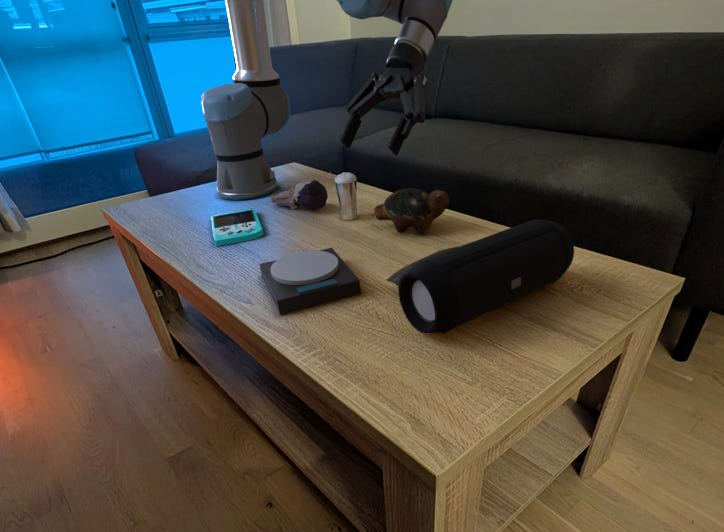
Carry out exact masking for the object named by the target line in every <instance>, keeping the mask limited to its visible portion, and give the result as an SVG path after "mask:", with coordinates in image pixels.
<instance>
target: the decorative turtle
mask: <svg viewBox="0 0 724 532" xmlns="http://www.w3.org/2000/svg"><path fill="white" fill-rule="evenodd" d="M449 203H450V198H449V195H448V194H447V193H446V192H445V191H443V190H440V189H436V190H432V191H431V192H430V193H428V192H427V191H426V190H424V189H420V188H411V187H410V188H402V189H398V190H396V191H394V192H393V193H391V194H390V195H389V196H388V197H387V198H386V199H385V200H384V202H383V203H382V204H378V205H376V206H375V207H374V209H373V212H374V216H375V218H376V220H378V221H391V222H392V223H393V225H394V228H395V230H396V232H397V233H399V234H403V233H405V232H407V230H409V229H410V228H412V229H413V230H414V231H415V232H416V234H418V235H419V236H424V235H425V234H426V233H427V232H428V229H429V227H430V225H432V223H433V221H435V220H436V219H438V218H439V217H441V215H443V214H444V212H445V211H446V209H447V207H448V206H449V205H450V204H449Z"/></svg>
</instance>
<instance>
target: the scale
mask: <svg viewBox="0 0 724 532" xmlns="http://www.w3.org/2000/svg"><path fill="white" fill-rule="evenodd" d="M258 266H259V270H260V274H261V278H262V279H263V283H264V284H265V286H266V288H267V290H268V292H269V294H270V297H271V298H272V300H273V303H274V305H275V307H276V309H277V311H278V313H279V316H282V315H287V314H290V313H294V312H297V311H302V310H306V309H309V308H314V307H317V306H321V305H324V304H329V303H332V302H337V301H341V300H343V299H348V298H351V297H355V296H358V295H362V289H361V280H360V278H359V277H358V276H357V274H356V273H355V272H354V271H353V270H352V269H351V268H350V267H349V266H348V265H347V263H346V262H345V261H344V260H343V259H342V257H340V255H339V254H338V252H337V251H336V250H335V249H334V248H333V247H328V248H323V249H320V250H317V249H315V250H313V249H312V250H301V251H296V252H292V253H289V254H286V255H283V256H282V257H280V258H278V259H275V260H269V261H266V262H262V263H259V264H258Z"/></svg>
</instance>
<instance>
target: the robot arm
mask: <svg viewBox="0 0 724 532" xmlns="http://www.w3.org/2000/svg"><path fill="white" fill-rule="evenodd" d="M224 1H225V8H226V13H227V19H228V25H229V31H230V36H231V42H232V47H233V48H232V49H233V52H234V54H233V55H234V60H235V65H236V70H235V72H234V74H233V75H232V83H226V84H222V85H220V86H219V85H218V86H214V87H211V88H209V89H207V90H205V91H204V92H203V93H202V95H201V98H200V102H201V107H202V114H203V118H204V120H205V123H206V127H207V130H208V134H209V138H210V141H211V145H212V148H213V149H212V150H213V152H214V156H215V159H216V164H217V165H216V166H217V168H216V190H217V195H218V196H219V198H221V199H224V200H230V201H243V200H252V199H257V198H261V197H265V196H267V195H271V194H273V193H274V192H275V191H277V189H278V181H277V178H276V173H275V170H272V169H271V167H270V164H269V163H268V161H267V159H266V157H265V155H264V149H263V145H262V144H263V143H262V139H263V138H265V137H268V136H272V135H274V134H277V133H278V132H280V130H282V129H284V127H285V126H286V125H287V124H288V122H289V119H290V117H291V112H292V111H291V108H292V105H291V101H290V100H291V99H290V97H289V95H288V93H287V91H285V90H284V88H283V86H282V85H281V79H280V75H279V73H277V72H276V71H275V70H274V69H273V63H272V57H271V48H270V42H269V41H270V40H269V33H268V26H267V18H266V11H265V3H264V0H224ZM453 1H454V0H336V2H338V3H339V6H340V8H341V9H342V11H343V12H344V13H345V14H346V15H348V16H349V17H351V18H354V19H357V20H366V19H369V18H380V17H381V18H383V17H384V18H386V19H388V20H391V21H394V22H396V23H399V24H400V25H401V28H400V30H399V32H398V34H397V36H396V38H395V40H394V44H393V46H392V47H391V50H390V52H389V54H388V57H387V58H386V68H385V71H384V72H383V73H382V74H378V73H377V71H376V70H374V71H373V72H372V73H371V74H370V76H369V77H368V79H367V81H366V82H365V83H364V84H363V86H362V87H361V88H360V89H359V90H358V92H357V93H356V94H355V95H354V96H353V97H352V98H351V100H350V101H349V102H348V104H346V106H345V107H344V109H345V111H346V112H347V113H348V114H349V117H348V119H347V121H346V123H345V126H344V130H343V134H342V135H341V138H340V139H339V141H340V142H341V144H342V145H343V146H344V147H345V148H346V149H351V147H352V144H353V142H354V140H355V137H356V135H357V133H358V131H359V128H360V127H361V124H362V122H363V121H362V120H361V119H362V118H363V117H364V116H366V114H368V113H369V112H370V111H371V110H373V109H374V108H375V107H376V106H377V105H378V104H380V103H381V102H385V101H386V100H389V99H390V100H391V99H395V100H401V104H402V107H403V108H402V109H403V112H404V114H403V115H404V116H405V117H404V116H401V117H400V120H399V121H398V124H397V126H396V128H395V130H394V132H393V135H392V137H391V139H390V142H389V144H388V146H387V148H388V149H389V151H390V152H391V153H392V154H393V155H394V156H398V155H399V153H400V151H401V148H402V146H403V144H404V141H405V140H406V139H408V138H409V136H410V134H411V132H412V130H413V127H414V126H415V125H416V124H417V123H420V124H423V123H424V122H425V121H426V89H427V87H428V84H429V81H428V79H427V77H426V76H425V74H424V72H423V71H424V68H425V65H426V63H427V61H428V58H429V56H430V54H431V52H432V49H433V48H434V45H435V44H436V41H437V38H438V36H439V34H440V32H441V30H442V28H443V26H444V24H445V22H446V20H447V19H448V14H449V12H450V9H451V6H452V3H453ZM413 88H414V98H413V99H414V102H413V103H412V98H411V94H410V91H411V89H413ZM413 105H414V106H413ZM413 107H414V108H413Z"/></svg>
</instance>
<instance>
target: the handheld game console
mask: <svg viewBox="0 0 724 532" xmlns="http://www.w3.org/2000/svg"><path fill="white" fill-rule="evenodd" d="M210 220H211V229H212V235H213V236H212V237H213V238H212V240H213V242H214V244H215V247H221V246H226V245H232V244H237V243H242V242H248V241H251V240H255V239H259V238H261V237H263V236H264V230H263V226H262V224H261V221H260V219H259V216H258V214H257V211H256V209H255V208H250V209H249V208H248V209H243V210H237V211H231V212H225V213H224V212H223V213H219V214H216V215H215V214H213V215H211V216H210Z"/></svg>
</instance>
